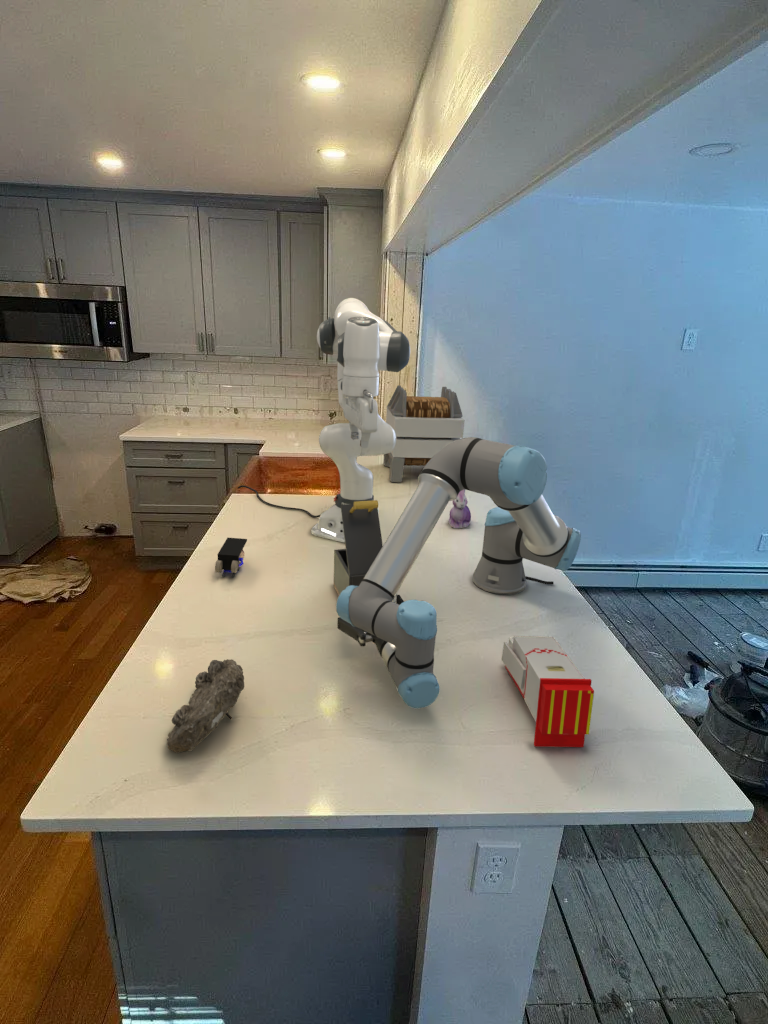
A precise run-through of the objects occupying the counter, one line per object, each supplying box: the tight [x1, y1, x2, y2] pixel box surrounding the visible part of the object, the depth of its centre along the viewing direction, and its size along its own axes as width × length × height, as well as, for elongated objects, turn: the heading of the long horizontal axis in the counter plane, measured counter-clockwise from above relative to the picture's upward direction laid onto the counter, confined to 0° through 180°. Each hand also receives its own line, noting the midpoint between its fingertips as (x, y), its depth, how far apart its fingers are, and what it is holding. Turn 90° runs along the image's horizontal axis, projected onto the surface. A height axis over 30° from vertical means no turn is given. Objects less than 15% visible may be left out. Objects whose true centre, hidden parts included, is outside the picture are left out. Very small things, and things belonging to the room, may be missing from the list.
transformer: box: [383, 384, 465, 483], centre depth 268 cm, size 34×33×41 cm
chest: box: [333, 548, 366, 597], centre depth 153 cm, size 18×10×11 cm, turn 17°
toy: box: [501, 635, 595, 748], centre depth 115 cm, size 12×13×30 cm
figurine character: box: [214, 537, 248, 578], centre depth 166 cm, size 7×8×15 cm
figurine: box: [448, 489, 472, 529], centre depth 208 cm, size 9×10×15 cm
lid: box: [341, 499, 384, 576], centre depth 141 cm, size 18×10×8 cm
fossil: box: [166, 658, 245, 754], centre depth 106 cm, size 22×10×15 cm
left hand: (359, 443), depth 143 cm, fingers open, 8 cm apart
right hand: (371, 602), depth 139 cm, fingers open, 13 cm apart
